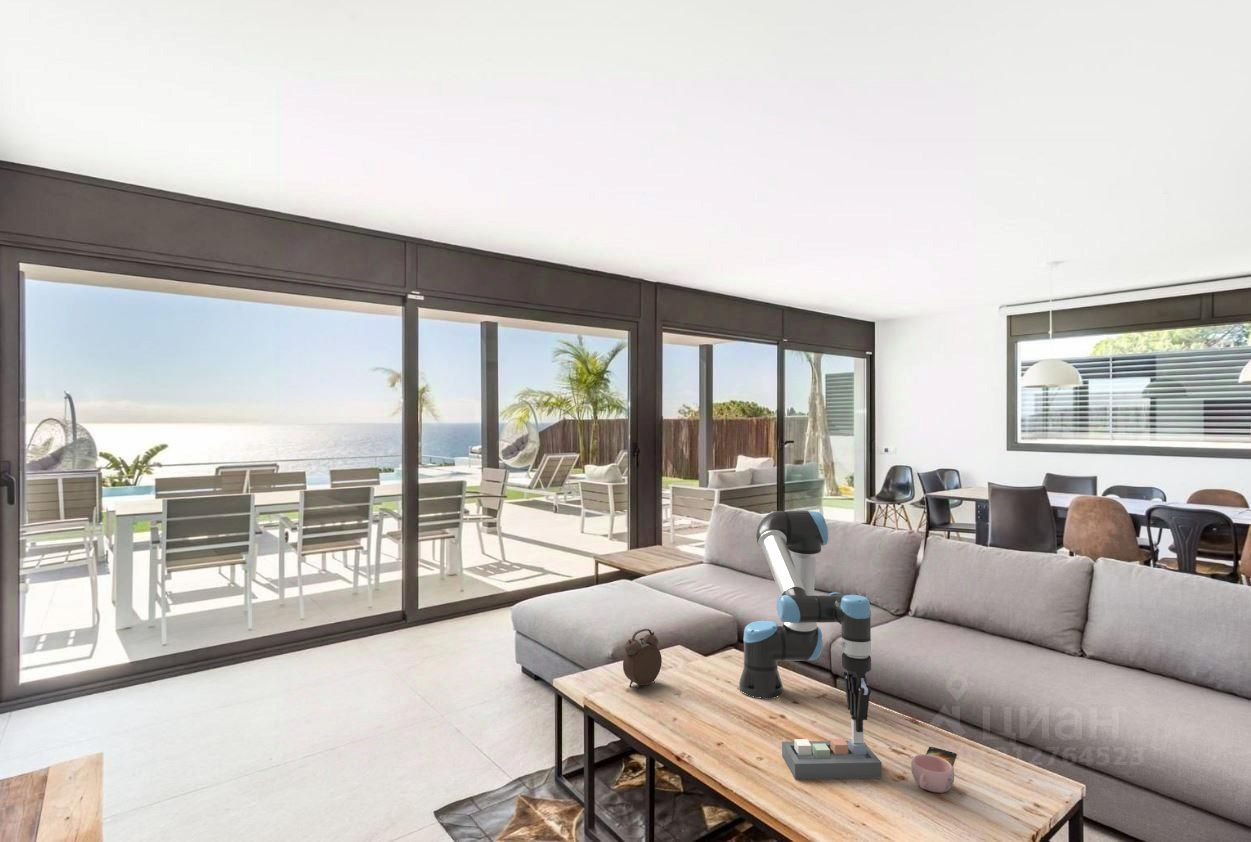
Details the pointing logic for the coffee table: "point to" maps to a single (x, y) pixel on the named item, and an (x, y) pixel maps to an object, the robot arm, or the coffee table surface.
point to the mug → (932, 773)
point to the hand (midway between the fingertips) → (857, 741)
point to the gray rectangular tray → (831, 764)
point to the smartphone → (942, 754)
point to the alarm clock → (642, 659)
